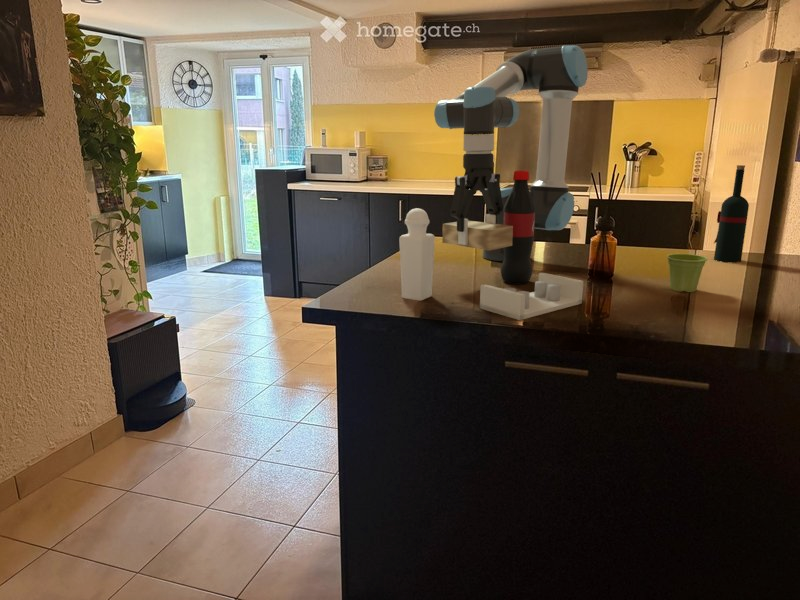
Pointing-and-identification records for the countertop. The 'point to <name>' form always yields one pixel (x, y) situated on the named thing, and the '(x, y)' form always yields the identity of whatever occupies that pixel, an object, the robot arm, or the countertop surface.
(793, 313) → the countertop surface
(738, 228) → the wine bottle
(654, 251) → the countertop surface
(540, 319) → the countertop surface
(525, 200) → the cola bottle
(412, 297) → the white square bottle
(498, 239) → the wooden block
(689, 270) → the plant pot
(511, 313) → the cradle
